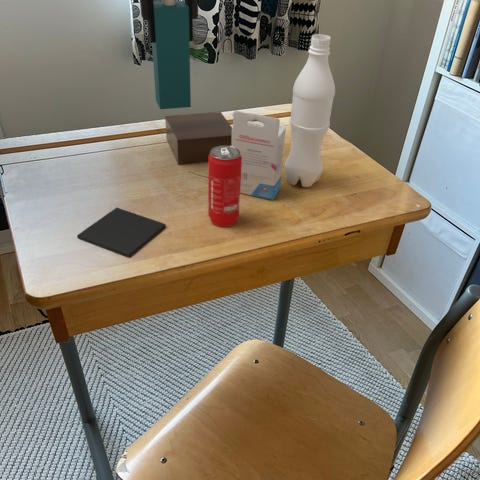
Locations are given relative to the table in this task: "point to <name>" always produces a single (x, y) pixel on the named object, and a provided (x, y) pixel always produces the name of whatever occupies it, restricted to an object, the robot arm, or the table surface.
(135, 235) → the coaster
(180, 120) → the walnut stand
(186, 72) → the teal tall block
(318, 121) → the water bottle
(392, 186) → the table surface
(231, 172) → the beverage can
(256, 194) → the ink box
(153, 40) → the robot arm
